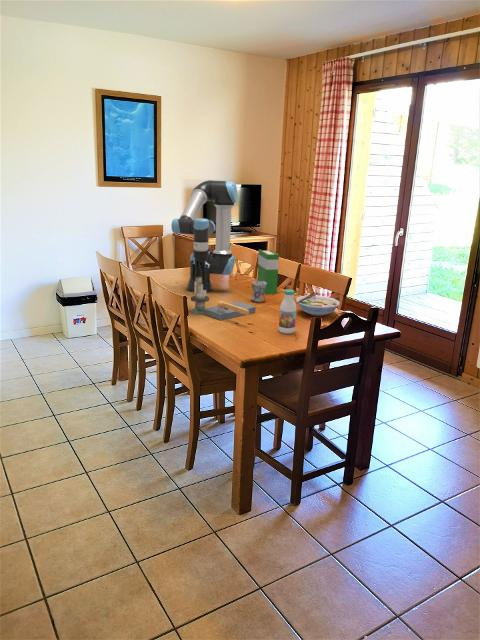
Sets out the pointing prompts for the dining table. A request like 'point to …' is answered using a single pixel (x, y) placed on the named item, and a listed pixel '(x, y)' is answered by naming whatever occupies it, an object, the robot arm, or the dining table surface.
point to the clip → (233, 307)
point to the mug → (258, 291)
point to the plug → (199, 295)
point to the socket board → (228, 311)
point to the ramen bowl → (317, 304)
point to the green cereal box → (268, 270)
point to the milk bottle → (287, 313)
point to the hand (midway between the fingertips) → (200, 294)
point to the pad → (198, 311)
